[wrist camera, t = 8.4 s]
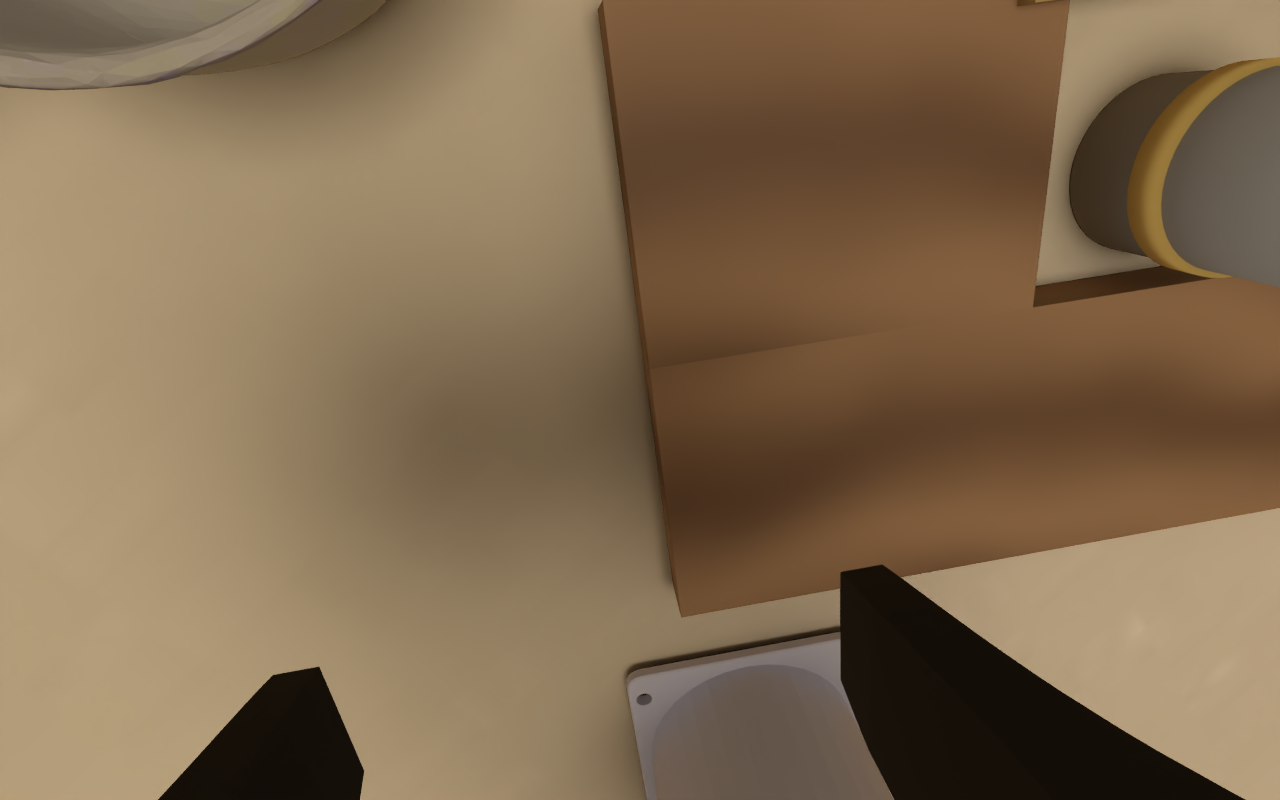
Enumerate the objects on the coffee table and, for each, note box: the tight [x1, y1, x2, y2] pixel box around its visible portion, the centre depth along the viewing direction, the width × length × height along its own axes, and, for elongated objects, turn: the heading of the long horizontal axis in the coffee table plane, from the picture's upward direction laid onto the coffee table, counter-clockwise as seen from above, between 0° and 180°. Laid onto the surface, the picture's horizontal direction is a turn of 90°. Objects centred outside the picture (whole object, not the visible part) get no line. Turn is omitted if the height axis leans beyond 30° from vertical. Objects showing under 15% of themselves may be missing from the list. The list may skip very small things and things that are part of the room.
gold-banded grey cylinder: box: [1070, 58, 1280, 287], centre depth 15 cm, size 5×5×5 cm
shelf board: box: [598, 0, 1280, 617], centre depth 18 cm, size 16×22×2 cm
